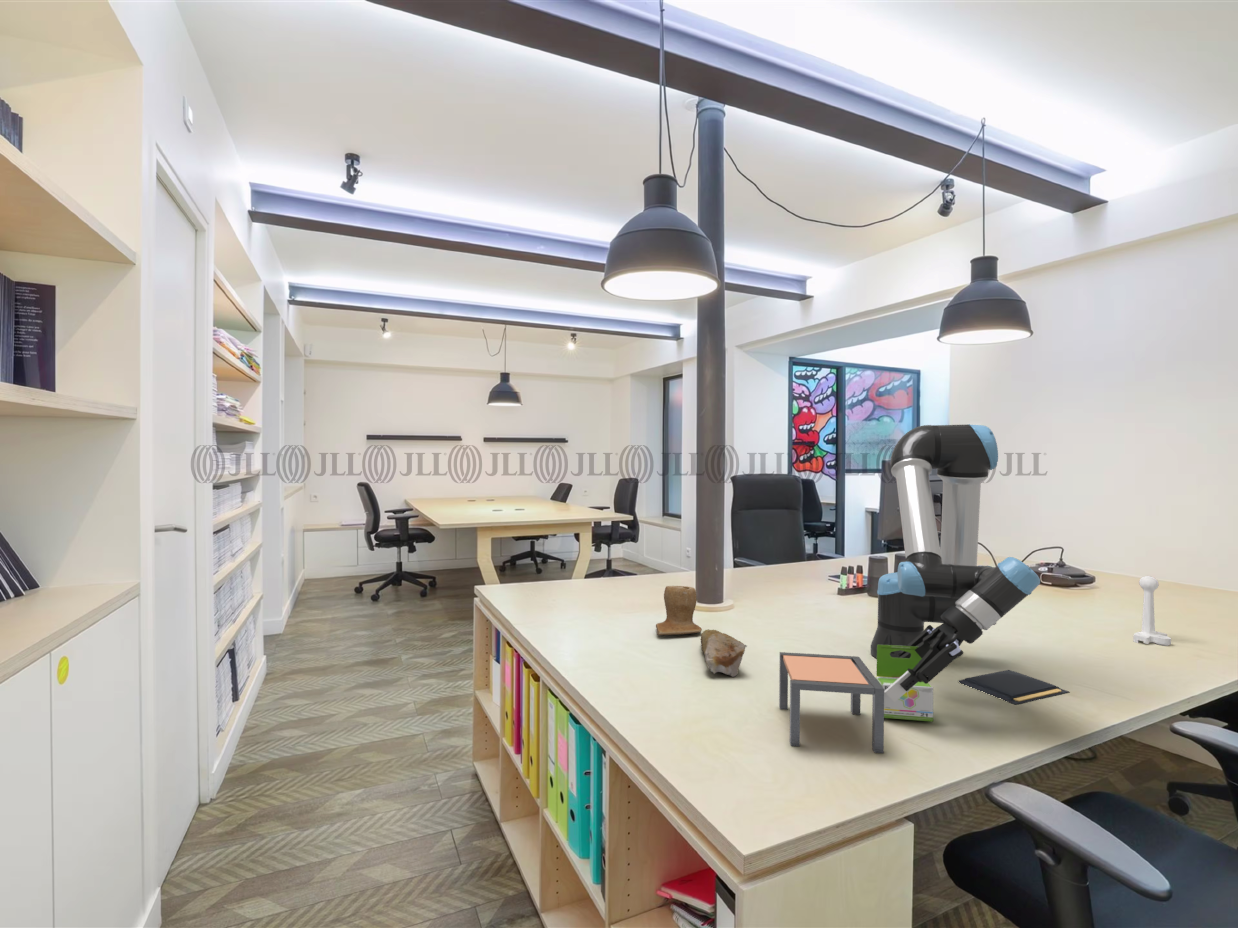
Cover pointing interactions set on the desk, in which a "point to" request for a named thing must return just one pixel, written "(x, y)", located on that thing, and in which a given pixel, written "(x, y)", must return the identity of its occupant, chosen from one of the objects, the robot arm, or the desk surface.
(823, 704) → the desk surface
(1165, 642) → the joystick
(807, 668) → the trapdoor
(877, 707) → the stand
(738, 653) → the mineral
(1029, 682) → the wallet
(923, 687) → the ink box
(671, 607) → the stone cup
